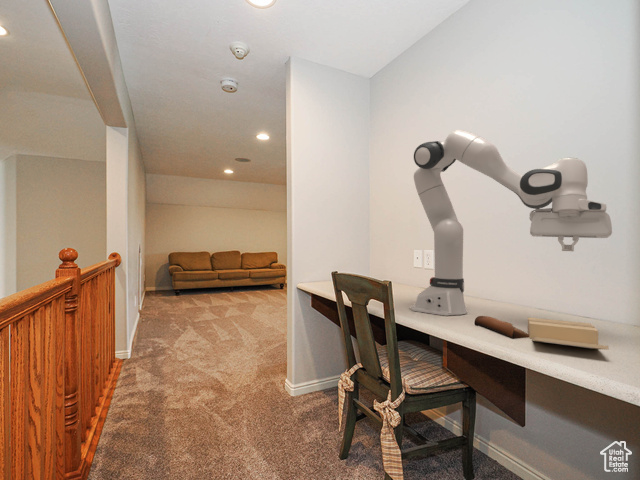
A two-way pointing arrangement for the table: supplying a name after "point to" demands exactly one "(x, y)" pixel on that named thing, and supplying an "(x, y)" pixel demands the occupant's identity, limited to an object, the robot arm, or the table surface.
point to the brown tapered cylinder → (500, 327)
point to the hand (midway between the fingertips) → (567, 250)
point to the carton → (562, 330)
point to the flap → (569, 343)
